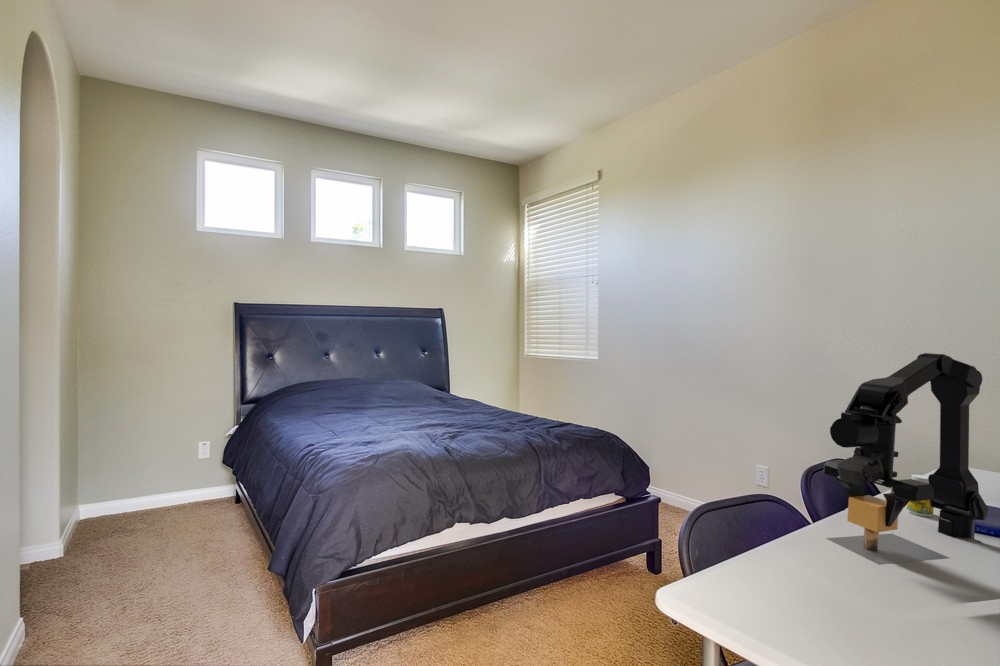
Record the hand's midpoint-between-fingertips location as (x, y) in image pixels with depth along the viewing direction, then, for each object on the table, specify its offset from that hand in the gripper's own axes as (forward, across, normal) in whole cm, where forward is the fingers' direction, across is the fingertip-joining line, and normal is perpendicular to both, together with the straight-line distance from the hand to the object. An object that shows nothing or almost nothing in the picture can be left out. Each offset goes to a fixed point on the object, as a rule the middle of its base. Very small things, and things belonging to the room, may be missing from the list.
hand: (872, 520), depth 108 cm
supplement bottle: (+8, -15, +40) cm, 43 cm away
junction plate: (+7, 0, +4) cm, 8 cm away
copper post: (+6, 0, 0) cm, 6 cm away
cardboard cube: (+1, 0, 0) cm, 1 cm away
